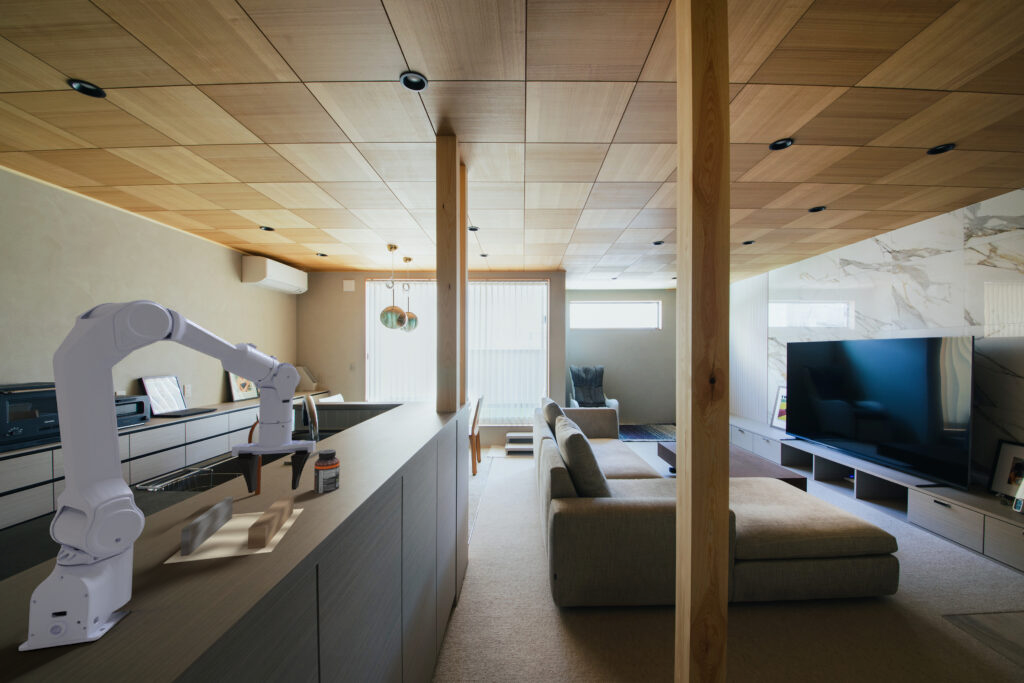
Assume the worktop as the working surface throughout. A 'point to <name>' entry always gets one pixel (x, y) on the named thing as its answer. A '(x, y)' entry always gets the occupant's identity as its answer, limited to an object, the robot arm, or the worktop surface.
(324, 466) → the supplement bottle
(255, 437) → the magnifying glass
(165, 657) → the worktop surface
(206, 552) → the board
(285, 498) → the walnut bar
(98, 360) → the robot arm
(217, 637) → the worktop surface
